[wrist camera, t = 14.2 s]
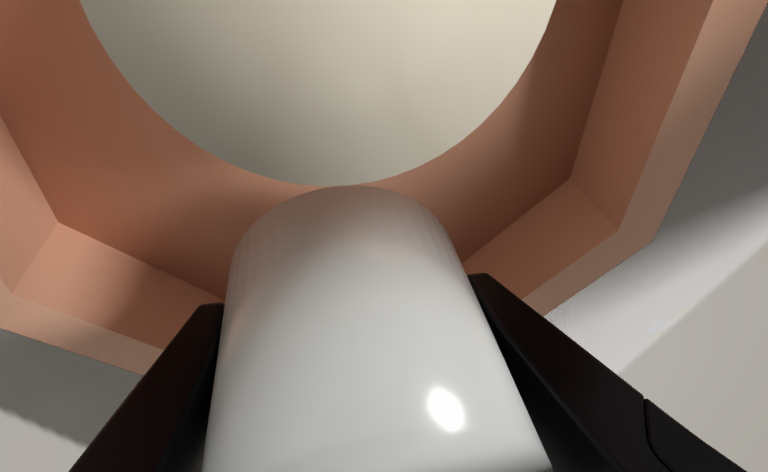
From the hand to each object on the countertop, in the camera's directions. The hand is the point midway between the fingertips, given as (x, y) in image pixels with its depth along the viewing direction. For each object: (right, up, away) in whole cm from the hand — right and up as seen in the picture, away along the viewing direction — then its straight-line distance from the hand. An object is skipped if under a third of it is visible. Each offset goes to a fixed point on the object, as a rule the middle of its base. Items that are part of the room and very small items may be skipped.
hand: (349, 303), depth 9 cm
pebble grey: (0, 0, 0) cm, 1 cm away
